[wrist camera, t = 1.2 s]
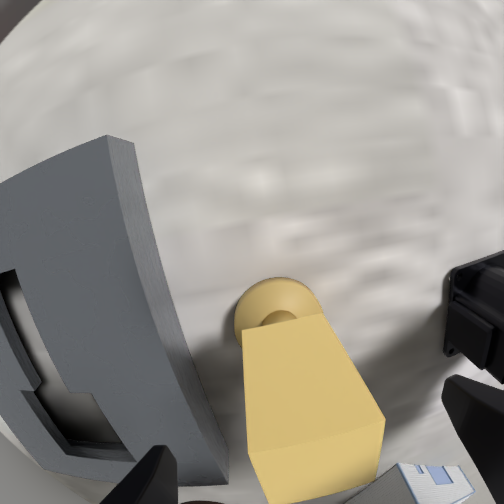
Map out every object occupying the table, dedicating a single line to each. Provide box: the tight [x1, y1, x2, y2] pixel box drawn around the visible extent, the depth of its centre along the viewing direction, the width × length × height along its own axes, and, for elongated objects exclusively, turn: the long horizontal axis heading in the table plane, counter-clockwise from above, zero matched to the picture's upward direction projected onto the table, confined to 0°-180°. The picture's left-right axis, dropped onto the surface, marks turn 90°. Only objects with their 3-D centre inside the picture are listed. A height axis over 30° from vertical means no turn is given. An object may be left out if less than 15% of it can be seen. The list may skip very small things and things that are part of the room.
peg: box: [234, 277, 386, 504], centre depth 11 cm, size 4×4×10 cm
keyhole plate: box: [0, 135, 229, 486], centre depth 14 cm, size 16×20×3 cm
